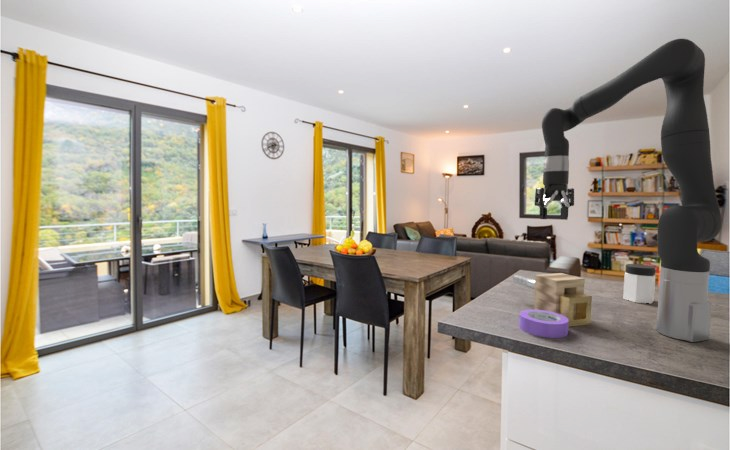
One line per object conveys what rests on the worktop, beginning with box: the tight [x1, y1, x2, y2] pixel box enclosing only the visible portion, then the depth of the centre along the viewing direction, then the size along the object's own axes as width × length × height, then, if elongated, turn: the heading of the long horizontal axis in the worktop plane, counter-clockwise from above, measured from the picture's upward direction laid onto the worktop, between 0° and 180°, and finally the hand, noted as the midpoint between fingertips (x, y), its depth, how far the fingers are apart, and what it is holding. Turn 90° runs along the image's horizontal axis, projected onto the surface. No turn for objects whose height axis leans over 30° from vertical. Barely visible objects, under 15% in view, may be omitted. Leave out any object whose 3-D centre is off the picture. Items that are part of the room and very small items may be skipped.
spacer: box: [559, 292, 593, 328], centre depth 98 cm, size 3×8×8 cm, turn 107°
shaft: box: [512, 274, 566, 295], centre depth 112 cm, size 19×3×3 cm, turn 17°
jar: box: [622, 263, 657, 305], centre depth 121 cm, size 9×8×12 cm
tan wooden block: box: [533, 272, 585, 316], centre depth 104 cm, size 8×10×12 cm
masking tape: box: [518, 309, 569, 339], centre depth 94 cm, size 12×12×4 cm
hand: (553, 219), depth 119 cm, fingers open, 8 cm apart
